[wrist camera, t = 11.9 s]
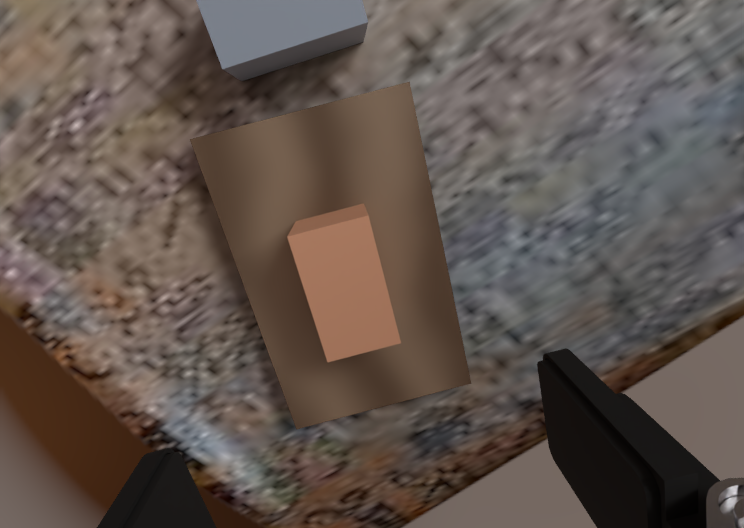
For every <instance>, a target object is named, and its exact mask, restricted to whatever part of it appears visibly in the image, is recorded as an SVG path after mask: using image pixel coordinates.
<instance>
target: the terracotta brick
mask: <svg viewBox="0 0 744 528" xmlns="http://www.w3.org/2000/svg"><path fill="white" fill-rule="evenodd" d="M287 238H288V241H289V244H290V247H291V250H292V254H293V257H294V260H295V263H296V266H297V269H298V272H299V275H300V278H301V281H302V285H303V288H304V291H305V294H306V297H307V300H308V303H309V306H310V309H311V313H312V316H313V319H314V322H315V325H316V328H317V331H318V334H319V337H320V340H321V344H322V347H323V350H324V353H325V356H326V359H327V362H331V361H335V360H339V359H343V358H347V357H350V356H354V355H358V354H362V353H366V352H369V351H373V350H377V349H381V348H385V347H388V346H392V345H396V344H400V343H401V340H400V337H399V333H398V329H397V325H396V321H395V317H394V313H393V309H392V305H391V301H390V298H389V294H388V290H387V286H386V282H385V278H384V274H383V270H382V266H381V262H380V258H379V255H378V251H377V247H376V243H375V239H374V235H373V231H372V227H371V223H370V219H369V216H368V213H367V210H366V208H365V205H364V203H363V204H360V205H356V206H352V207H348V208H344V209H341V210H337V211H333V212H329V213H325V214H322V215H318V216H314V217H310V218H306V219H303V220H299V221H296V222H295V224H294V225H293V227H292V229H291V231H290V232H289V234H288V236H287Z"/></svg>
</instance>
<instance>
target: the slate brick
mask: <svg viewBox="0 0 744 528" xmlns="http://www.w3.org/2000/svg"><path fill="white" fill-rule="evenodd" d="M196 1H197V3H198V6H199V9H200V11H201V14H202V17H203V19H204V22H205V25H206V27H207V30H208V32H209V35H210V38H211V40H212V43H213V46H214V48H215V51H216V54H217V56H218V59H219V61H220V64H221V67H222V69H223V70H224V71H226V72H228V73H229V74H231V75H232V76H234V77H235V78H237V79H239V80H240V81H244V80H247V79H250V78H254V77H257V76H260V75H263V74H266V73H269V72H272V71H275V70H278V69H281V68H285V67H288V66H291V65H294V64H297V63H300V62H303V61H306V60H309V59H312V58H316V57H319V56H322V55H325V54H328V53H331V52H334V51H337V50H340V49H343V48H347V47H350V46H353V45H356V44H359V43H362V42H363V41H364V37H365V33H366V29H367V24H368V20H367V17H366V13H365V9H364V5H363V2H362V0H196Z"/></svg>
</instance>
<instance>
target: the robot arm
mask: <svg viewBox="0 0 744 528" xmlns="http://www.w3.org/2000/svg"><path fill="white" fill-rule="evenodd" d="M537 366H538V374H539V381H540V388H541V395H542V402H543V409H544V416H545V423H546V430H547V436H548V443H549V448H550V452H551V454H552V457H553V459H554V461H555V463H556V464H557V466H558V467H559V469H560V470H561V472H562V474H563V475H564V477H565V478H566V480H567V481H568V483H569V484H570V486H571V488H572V489H573V491H574V492H575V494H576V495H577V497H578V498H579V500H580V501H581V503H582V505H583V506H584V508H585V509H586V511H587V513H588V514H589V516H590V517H591V519H592V520H593V522H594V523H595V525H596V526H597V528H744V478H728V479H725V480H722V481H720V480H719V479H718V478H717V477H716V476H714V474H712V473H711V472H710V471H709V470H708V469H707V468H706V467H705V466H704V465H703V464H701V463H700V462H699V461H698V460H697V459H696V458H695V457H694V456H693V455H692V454H691V453H690V452H688V451H687V450H686V449H685V448H684V447H683V446H682V445H681V444H680V443H679V442H677V441H676V440H675V439H674V438H673V437H672V436H671V435H670V434H669V433H668V432H667V431H666V430H664V429H663V428H662V427H661V426H660V425H659V424H658V423H657V422H656V421H655V420H654V419H653V418H651V417H650V416H649V415H648V414H647V413H646V412H645V411H644V410H643V409H642V408H641V407H639V406H638V405H637V404H636V403H635V402H634V401H633V400H632V399H631V398H629V397H628V396H627V395H625V394H622V393H619V394H615V393H614V392H613V391H612V390H611V389H610V388H609V387H608V386H607V385H606V384H605V383H604V382H603V381H601V380H600V379H599V378H598V377H597V376H596V375H595V374H594V373H593V372H592V371H591V370H590V369H589V368H588V367H587V366H586V365H585V364H584V363H583V362H582V361H580V360H579V359H578V358H577V357H576V356H575V355H574V354H573V353H572V352H571V351H570V350H568V349H562V350H558V351H554V352H550V353H546V354H544V355H543V361H539V362H538V364H537ZM97 528H216V526H215V524H214V522H213V520H212V518H211V516H210V514H209V511H208V510H207V507H206V505H205V503H204V501H203V499H202V497H201V495H200V493H199V491H198V489H197V487H196V485H195V483H194V481H193V478H192V476H191V474H190V472H189V470H188V468H187V466H186V464H185V462H184V460H183V458H182V456H181V454H180V453H178V452H174V451H173V450H172V449H170V448H167V449H163V450H159V451H155V452H151V453H147V454H146V455H144V456H143V457H142V459H141V460H140V462H139V463H138V465H137V466H136V468H135V469H134V471H133V473H132V474H131V476H130V477H129V479H128V481H127V482H126V483H125V485H124V487H123V488H122V490H121V492H120V493H119V494H118V496H117V498H116V499H115V501H114V502H113V504H112V505H111V507H110V508H109V510H108V511H107V513H106V515H105V516H104V518H103V519H102V521H101V522H100V524H99V525H98V527H97Z"/></svg>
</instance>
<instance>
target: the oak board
mask: <svg viewBox="0 0 744 528" xmlns="http://www.w3.org/2000/svg"><path fill="white" fill-rule="evenodd" d="M190 141H191V144H192V147H193V149H194V152H195V155H196V157H197V160H198V163H199V166H200V168H201V171H202V174H203V176H204V179H205V182H206V185H207V187H208V190H209V193H210V195H211V198H212V201H213V204H214V206H215V209H216V212H217V214H218V217H219V220H220V223H221V225H222V228H223V231H224V234H225V236H226V239H227V242H228V244H229V247H230V250H231V253H232V255H233V258H234V261H235V263H236V266H237V269H238V272H239V274H240V277H241V280H242V282H243V285H244V288H245V291H246V293H247V296H248V299H249V301H250V304H251V307H252V310H253V312H254V315H255V318H256V320H257V323H258V326H259V329H260V331H261V334H262V337H263V340H264V342H265V345H266V348H267V350H268V353H269V356H270V359H271V361H272V364H273V367H274V369H275V372H276V375H277V378H278V380H279V383H280V386H281V388H282V391H283V394H284V397H285V399H286V402H287V405H288V407H289V410H290V413H291V416H292V418H293V421H294V424H295V427H296V429H299V428H303V427H307V426H311V425H315V424H319V423H322V422H326V421H330V420H334V419H338V418H341V417H345V416H349V415H353V414H357V413H360V412H364V411H368V410H372V409H376V408H379V407H383V406H387V405H391V404H395V403H398V402H402V401H406V400H410V399H414V398H417V397H421V396H425V395H429V394H433V393H436V392H440V391H444V390H448V389H452V388H455V387H459V386H463V385H467V384H471V380H470V375H469V371H468V366H467V361H466V356H465V351H464V346H463V341H462V336H461V331H460V327H459V322H458V317H457V312H456V307H455V302H454V297H453V292H452V287H451V283H450V278H449V273H448V268H447V263H446V258H445V253H444V248H443V244H442V239H441V234H440V229H439V224H438V219H437V214H436V209H435V204H434V200H433V195H432V190H431V185H430V180H429V175H428V170H427V165H426V160H425V156H424V151H423V146H422V141H421V136H420V131H419V126H418V121H417V116H416V112H415V107H414V102H413V97H412V92H411V87H410V82H407V83H403V84H399V85H395V86H392V87H388V88H384V89H380V90H376V91H372V92H369V93H365V94H361V95H357V96H353V97H350V98H346V99H342V100H338V101H334V102H331V103H327V104H323V105H319V106H315V107H312V108H308V109H304V110H300V111H296V112H292V113H289V114H285V115H281V116H277V117H273V118H270V119H266V120H262V121H258V122H254V123H251V124H247V125H243V126H239V127H235V128H231V129H228V130H224V131H220V132H216V133H212V134H209V135H205V136H201V137H197V138H193V139H190ZM363 203H364V205H365V208H366V210H367V213H368V216H369V219H370V223H371V227H372V231H373V235H374V239H375V243H376V247H377V251H378V255H379V258H380V262H381V266H382V270H383V274H384V278H385V282H386V286H387V290H388V294H389V298H390V301H391V305H392V309H393V313H394V317H395V321H396V325H397V329H398V333H399V337H400V340H401V343H400V344H396V345H392V346H388V347H385V348H381V349H377V350H373V351H369V352H366V353H362V354H358V355H354V356H350V357H347V358H343V359H339V360H335V361H331V362H327V359H326V356H325V353H324V350H323V347H322V344H321V340H320V337H319V334H318V331H317V328H316V325H315V322H314V319H313V316H312V313H311V309H310V306H309V303H308V300H307V297H306V294H305V291H304V288H303V285H302V281H301V278H300V275H299V272H298V269H297V266H296V263H295V260H294V257H293V254H292V250H291V247H290V244H289V241H288V238H287V236H288V234H289V232H290V231H291V229H292V227H293V225H294V224H295V222H296V221H299V220H303V219H306V218H310V217H314V216H318V215H322V214H325V213H329V212H333V211H337V210H341V209H344V208H348V207H352V206H356V205H360V204H363Z"/></svg>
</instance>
